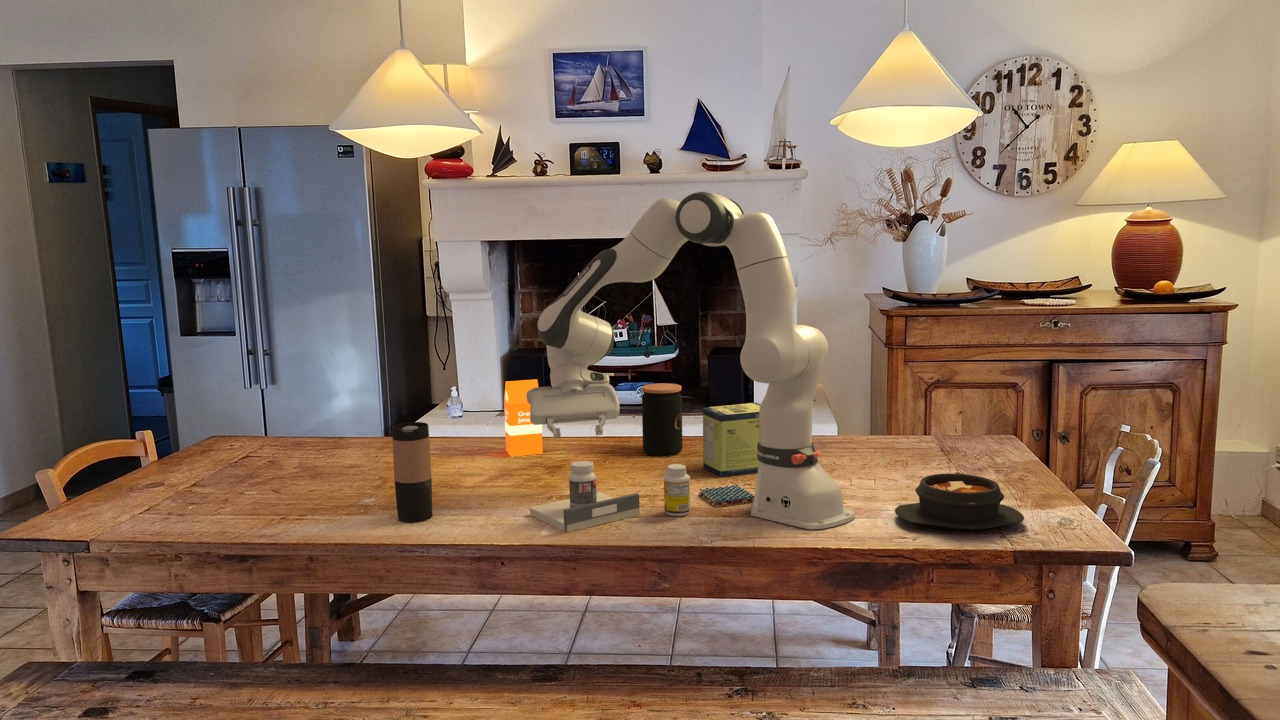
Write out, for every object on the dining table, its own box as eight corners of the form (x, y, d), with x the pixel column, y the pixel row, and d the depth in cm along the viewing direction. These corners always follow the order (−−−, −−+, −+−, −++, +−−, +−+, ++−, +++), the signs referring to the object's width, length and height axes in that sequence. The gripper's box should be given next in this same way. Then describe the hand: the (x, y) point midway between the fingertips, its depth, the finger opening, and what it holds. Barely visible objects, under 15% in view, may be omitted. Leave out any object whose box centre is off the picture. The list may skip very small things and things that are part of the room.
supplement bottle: (670, 507, 201) (669, 462, 200) (694, 510, 199) (693, 464, 198) (660, 515, 196) (659, 468, 195) (684, 518, 194) (684, 470, 193)
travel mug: (418, 510, 203) (413, 420, 200) (441, 516, 198) (436, 424, 196) (389, 518, 197) (383, 426, 194) (411, 525, 193) (406, 431, 190)
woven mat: (715, 510, 201) (715, 501, 200) (696, 497, 211) (696, 488, 210) (759, 505, 204) (759, 496, 204) (738, 492, 214) (738, 483, 214)
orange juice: (505, 451, 255) (502, 379, 252) (537, 448, 258) (535, 377, 255) (510, 457, 248) (507, 383, 245) (543, 454, 250) (540, 381, 247)
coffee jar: (683, 457, 245) (682, 389, 242) (642, 457, 245) (641, 390, 243) (682, 447, 256) (681, 382, 253) (643, 447, 256) (642, 383, 253)
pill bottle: (600, 511, 194) (598, 465, 193) (573, 514, 192) (572, 468, 191) (592, 504, 200) (591, 459, 198) (567, 507, 198) (565, 461, 196)
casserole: (907, 538, 180) (908, 496, 178) (885, 509, 198) (886, 470, 197) (1038, 537, 179) (1040, 495, 177) (1004, 508, 197) (1005, 469, 196)
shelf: (640, 515, 197) (639, 494, 196) (567, 532, 186) (567, 511, 186) (600, 499, 209) (599, 479, 208) (530, 514, 198) (529, 494, 198)
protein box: (776, 470, 230) (777, 409, 228) (720, 478, 224) (720, 414, 222) (756, 461, 240) (756, 401, 237) (701, 468, 234) (701, 407, 232)
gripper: (525, 380, 209) (531, 431, 201) (615, 374, 213) (624, 423, 205) (525, 396, 214) (531, 447, 206) (612, 390, 218) (621, 439, 210)
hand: (578, 435), depth 205 cm, fingers open, 8 cm apart
